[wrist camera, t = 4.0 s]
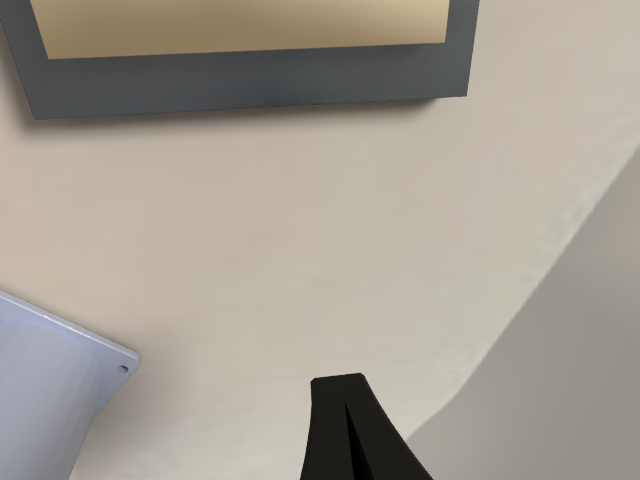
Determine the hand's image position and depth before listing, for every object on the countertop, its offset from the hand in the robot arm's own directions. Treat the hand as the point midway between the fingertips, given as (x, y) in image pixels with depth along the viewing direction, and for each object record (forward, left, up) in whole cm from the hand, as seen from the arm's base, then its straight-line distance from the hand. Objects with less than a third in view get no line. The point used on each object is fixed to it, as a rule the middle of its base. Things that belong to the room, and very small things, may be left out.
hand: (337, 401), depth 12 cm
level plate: (+10, +11, -8) cm, 16 cm away
